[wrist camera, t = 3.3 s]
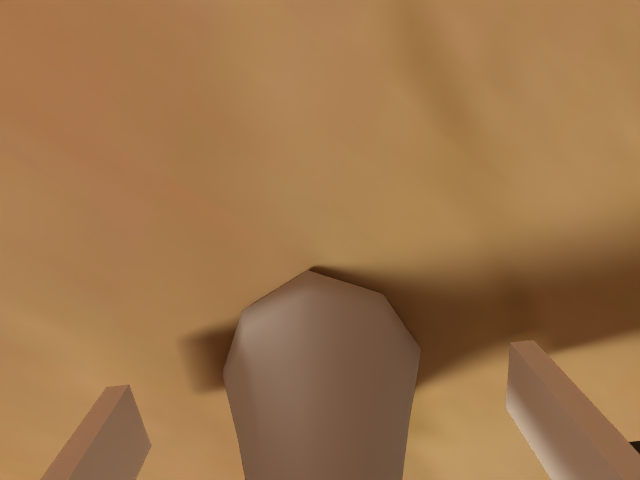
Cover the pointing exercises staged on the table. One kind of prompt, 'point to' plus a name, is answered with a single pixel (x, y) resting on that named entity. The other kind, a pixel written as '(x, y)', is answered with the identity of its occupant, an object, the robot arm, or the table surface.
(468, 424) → the table surface
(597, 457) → the robot arm
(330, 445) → the flask
